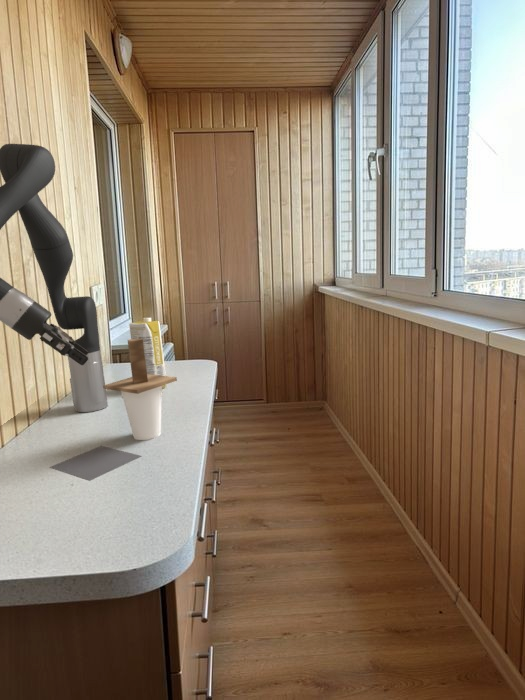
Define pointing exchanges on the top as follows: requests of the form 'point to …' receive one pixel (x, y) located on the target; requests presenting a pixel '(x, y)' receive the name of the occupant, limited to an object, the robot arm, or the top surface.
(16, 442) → the top surface
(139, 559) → the top surface
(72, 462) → the mat
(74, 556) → the top surface
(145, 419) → the foam cup
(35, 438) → the top surface
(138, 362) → the lid
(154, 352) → the juice carton
